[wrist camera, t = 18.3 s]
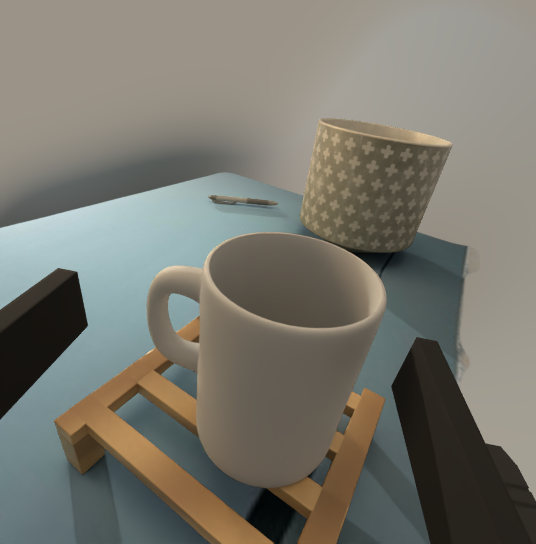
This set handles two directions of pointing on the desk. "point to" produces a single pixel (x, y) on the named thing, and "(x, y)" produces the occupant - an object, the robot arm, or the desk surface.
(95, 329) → the desk surface
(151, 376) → the rack
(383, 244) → the planter
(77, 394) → the desk surface
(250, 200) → the pen
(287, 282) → the mug
